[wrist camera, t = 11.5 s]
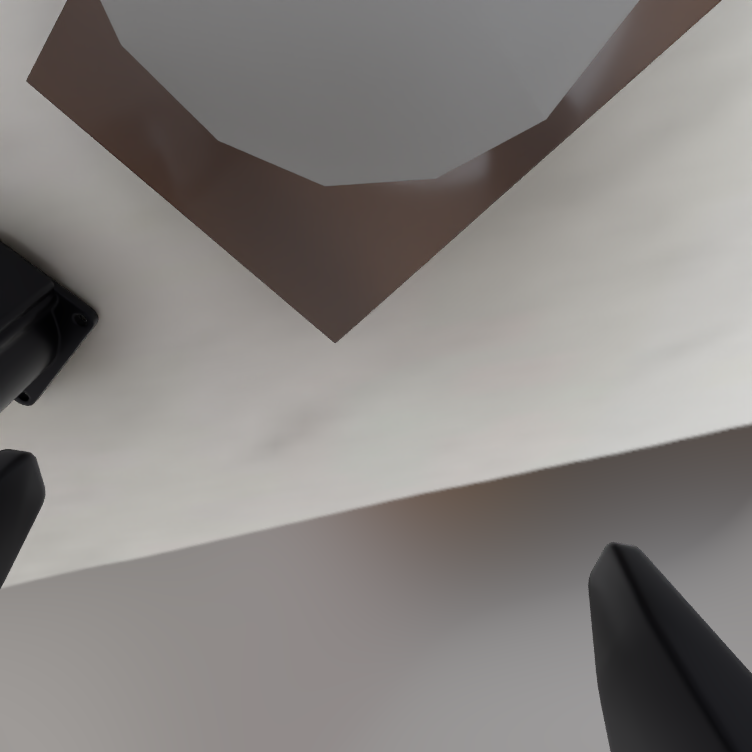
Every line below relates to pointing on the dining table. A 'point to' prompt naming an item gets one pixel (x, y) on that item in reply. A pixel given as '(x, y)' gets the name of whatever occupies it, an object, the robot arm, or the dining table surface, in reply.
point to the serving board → (305, 197)
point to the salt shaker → (366, 75)
